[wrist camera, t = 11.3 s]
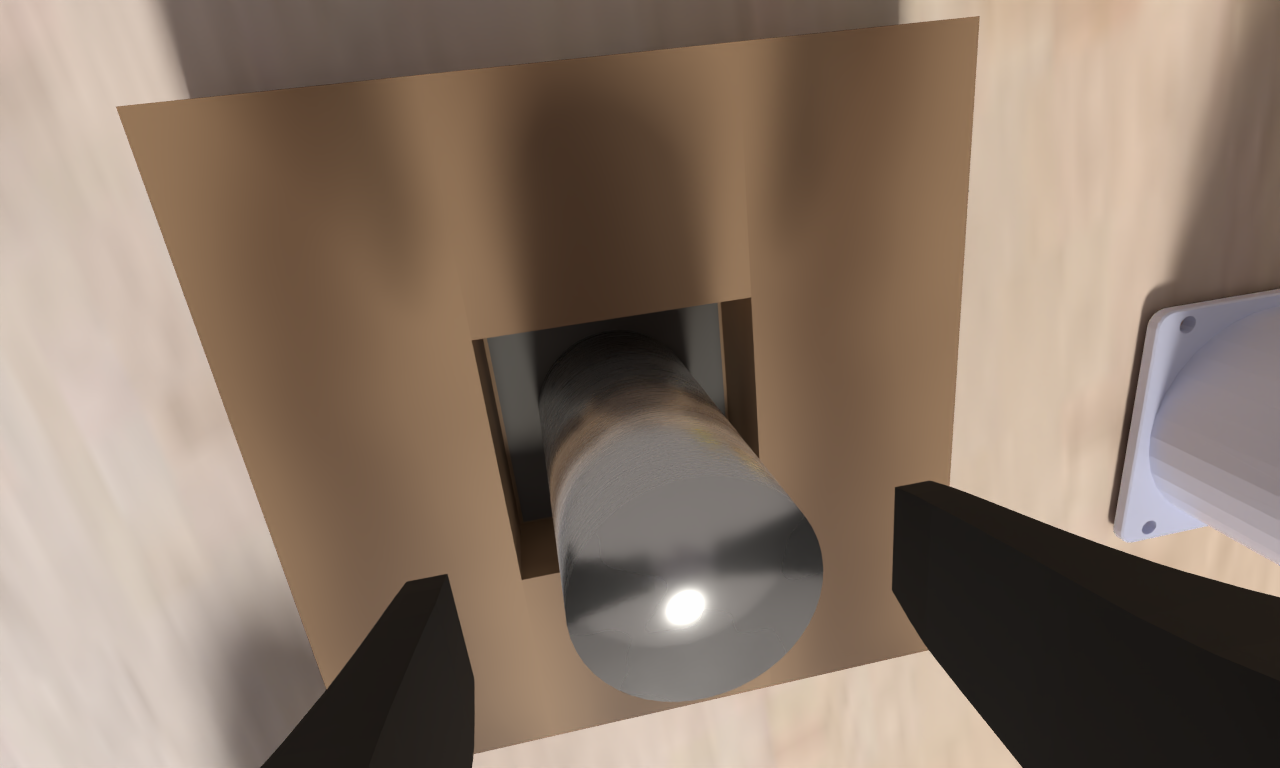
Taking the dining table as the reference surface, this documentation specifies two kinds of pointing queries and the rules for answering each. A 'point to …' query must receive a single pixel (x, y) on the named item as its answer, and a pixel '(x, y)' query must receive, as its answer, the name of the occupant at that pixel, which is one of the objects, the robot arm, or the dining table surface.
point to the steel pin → (667, 527)
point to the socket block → (575, 315)
